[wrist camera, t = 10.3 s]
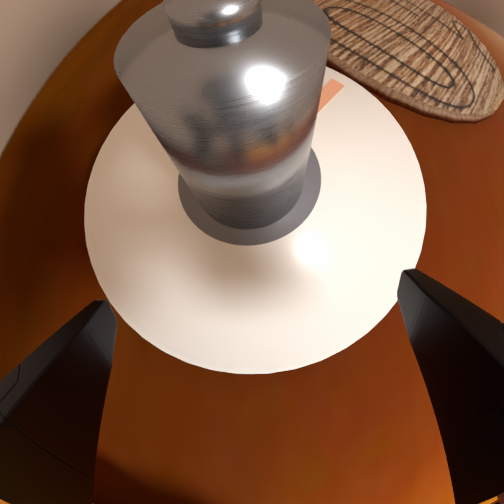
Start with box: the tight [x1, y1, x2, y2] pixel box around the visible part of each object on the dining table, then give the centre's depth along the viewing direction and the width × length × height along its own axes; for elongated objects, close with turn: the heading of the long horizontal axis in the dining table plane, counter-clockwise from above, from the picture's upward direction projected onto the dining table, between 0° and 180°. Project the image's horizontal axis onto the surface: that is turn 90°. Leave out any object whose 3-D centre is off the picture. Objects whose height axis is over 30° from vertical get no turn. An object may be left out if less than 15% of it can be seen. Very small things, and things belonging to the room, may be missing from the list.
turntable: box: [84, 67, 426, 374], centre depth 17 cm, size 21×21×2 cm
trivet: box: [310, 0, 504, 123], centre depth 21 cm, size 25×25×2 cm
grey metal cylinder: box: [114, 0, 331, 230], centre depth 10 cm, size 6×6×11 cm
